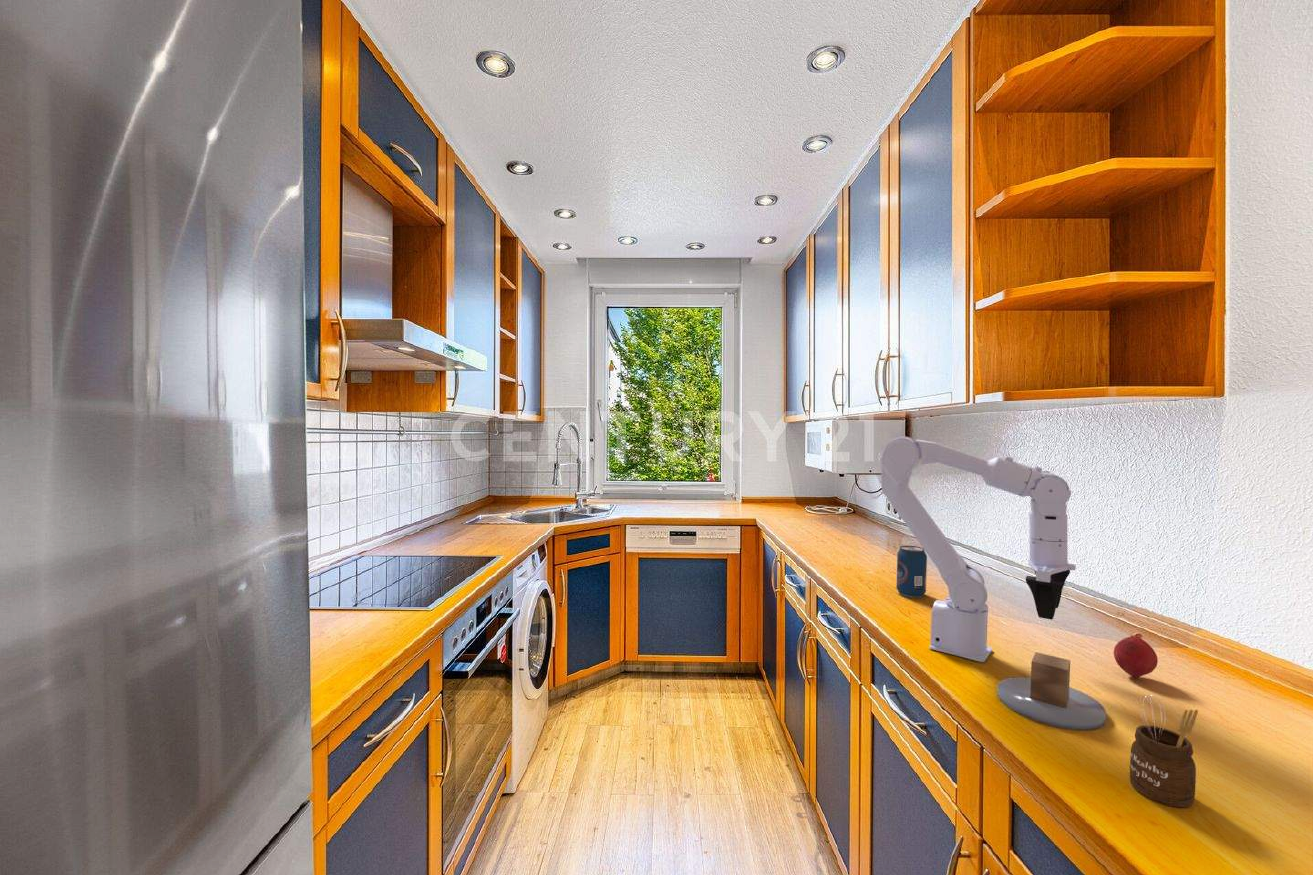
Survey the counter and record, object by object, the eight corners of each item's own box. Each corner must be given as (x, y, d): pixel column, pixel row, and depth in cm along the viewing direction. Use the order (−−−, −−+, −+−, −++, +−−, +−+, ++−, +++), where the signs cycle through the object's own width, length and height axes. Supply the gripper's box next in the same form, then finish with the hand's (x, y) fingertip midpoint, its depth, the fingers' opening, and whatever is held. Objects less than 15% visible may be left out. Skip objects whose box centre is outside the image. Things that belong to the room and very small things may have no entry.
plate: (989, 706, 88) (989, 699, 88) (1006, 676, 98) (1006, 669, 98) (1103, 741, 79) (1103, 733, 79) (1108, 703, 89) (1108, 696, 89)
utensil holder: (1161, 776, 71) (1165, 683, 71) (1211, 811, 65) (1216, 709, 64) (1116, 776, 71) (1120, 683, 71) (1162, 811, 65) (1167, 710, 64)
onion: (1139, 686, 95) (1142, 640, 95) (1104, 671, 101) (1106, 628, 100) (1164, 682, 97) (1166, 637, 96) (1128, 668, 102) (1130, 625, 102)
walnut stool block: (1030, 698, 88) (1031, 661, 88) (1034, 687, 92) (1035, 652, 91) (1066, 708, 85) (1067, 670, 85) (1068, 697, 89) (1070, 660, 88)
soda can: (891, 590, 147) (892, 544, 147) (916, 589, 148) (918, 544, 147) (904, 598, 140) (905, 551, 140) (931, 598, 141) (932, 551, 140)
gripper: (1071, 548, 94) (1071, 628, 94) (1079, 534, 105) (1079, 606, 105) (1021, 543, 99) (1022, 619, 99) (1034, 530, 110) (1034, 599, 110)
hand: (1048, 612), depth 103 cm, fingers open, 7 cm apart
